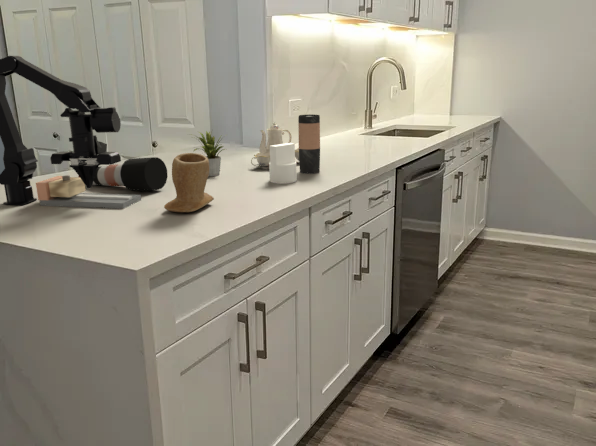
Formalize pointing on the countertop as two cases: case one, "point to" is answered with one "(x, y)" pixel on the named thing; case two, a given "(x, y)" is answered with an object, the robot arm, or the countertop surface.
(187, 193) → the stone cup
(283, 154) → the base with upright slab
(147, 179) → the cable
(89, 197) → the track
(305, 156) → the travel mug
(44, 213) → the countertop surface
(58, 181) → the block
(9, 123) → the robot arm
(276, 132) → the chinaware
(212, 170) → the house plant
